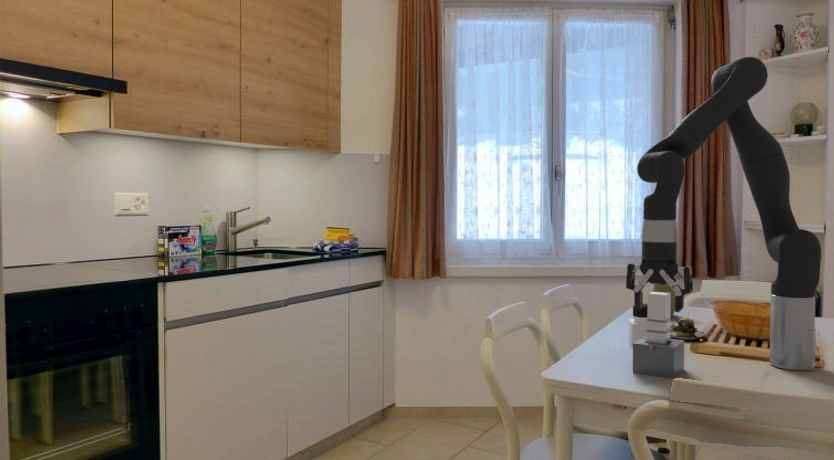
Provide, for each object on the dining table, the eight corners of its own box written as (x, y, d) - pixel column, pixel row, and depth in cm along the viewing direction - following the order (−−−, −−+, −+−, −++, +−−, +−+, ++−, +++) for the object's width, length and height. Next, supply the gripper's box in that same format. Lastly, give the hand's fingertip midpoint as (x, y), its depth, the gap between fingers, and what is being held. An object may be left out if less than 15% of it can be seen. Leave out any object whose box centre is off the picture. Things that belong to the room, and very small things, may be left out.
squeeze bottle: (646, 314, 223) (646, 262, 222) (665, 312, 225) (666, 261, 224) (661, 318, 215) (662, 265, 214) (681, 316, 218) (682, 263, 217)
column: (670, 370, 149) (671, 293, 148) (665, 374, 146) (666, 295, 145) (651, 367, 152) (652, 291, 151) (646, 371, 148) (646, 294, 147)
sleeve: (703, 373, 150) (703, 339, 150) (686, 390, 137) (686, 353, 137) (634, 363, 160) (634, 331, 159) (612, 378, 147) (612, 344, 146)
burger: (653, 336, 191) (653, 311, 191) (686, 332, 195) (686, 308, 194) (681, 344, 180) (682, 318, 179) (715, 341, 183) (716, 315, 183)
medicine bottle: (660, 351, 172) (660, 306, 171) (632, 350, 173) (632, 305, 173) (655, 344, 179) (656, 302, 178) (629, 344, 180) (629, 301, 180)
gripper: (696, 239, 146) (695, 310, 147) (633, 237, 154) (632, 304, 155) (688, 241, 140) (686, 315, 141) (622, 239, 148) (622, 309, 149)
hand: (658, 309), depth 148 cm, fingers open, 8 cm apart
